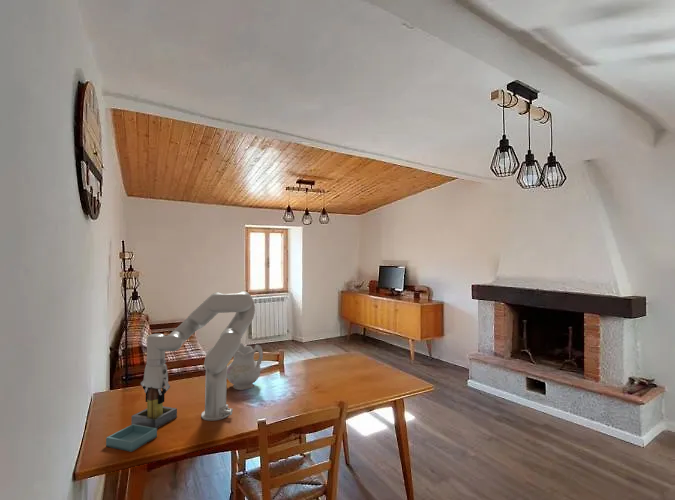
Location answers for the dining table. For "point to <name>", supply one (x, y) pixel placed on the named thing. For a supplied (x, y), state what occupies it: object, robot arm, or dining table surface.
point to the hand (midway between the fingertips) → (154, 401)
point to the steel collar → (154, 422)
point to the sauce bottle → (153, 403)
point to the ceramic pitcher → (244, 367)
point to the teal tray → (131, 437)
